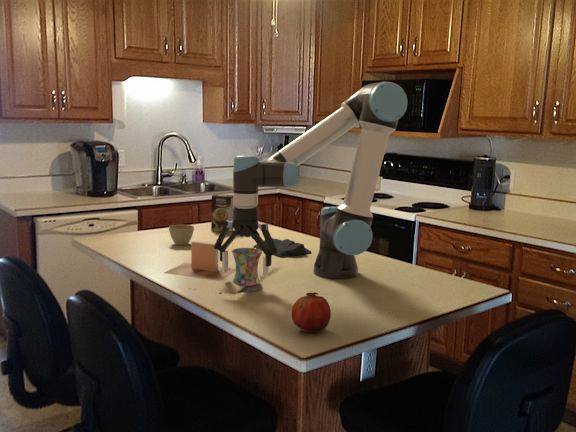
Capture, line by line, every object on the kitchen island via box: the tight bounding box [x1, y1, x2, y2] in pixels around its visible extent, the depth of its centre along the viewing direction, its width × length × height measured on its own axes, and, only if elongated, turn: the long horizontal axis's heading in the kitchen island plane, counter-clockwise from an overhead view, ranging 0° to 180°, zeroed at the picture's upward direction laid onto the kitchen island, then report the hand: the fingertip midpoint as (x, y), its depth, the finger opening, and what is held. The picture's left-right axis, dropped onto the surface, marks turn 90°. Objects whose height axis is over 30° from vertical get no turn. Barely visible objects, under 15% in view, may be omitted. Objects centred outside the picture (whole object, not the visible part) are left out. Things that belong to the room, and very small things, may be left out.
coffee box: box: [210, 193, 235, 233], centre depth 266 cm, size 9×6×16 cm
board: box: [163, 262, 236, 281], centre depth 196 cm, size 20×14×2 cm
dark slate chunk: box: [252, 237, 312, 259], centre depth 233 cm, size 15×22×5 cm
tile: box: [190, 240, 219, 271], centre depth 197 cm, size 9×2×9 cm, turn 71°
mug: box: [231, 247, 263, 287], centre depth 183 cm, size 12×9×11 cm
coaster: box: [237, 282, 263, 293], centre depth 184 cm, size 11×11×1 cm
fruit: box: [291, 292, 332, 333], centre depth 149 cm, size 11×10×10 cm
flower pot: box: [168, 224, 195, 246], centre depth 238 cm, size 10×10×7 cm
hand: (245, 274), depth 184 cm, fingers open, 13 cm apart
